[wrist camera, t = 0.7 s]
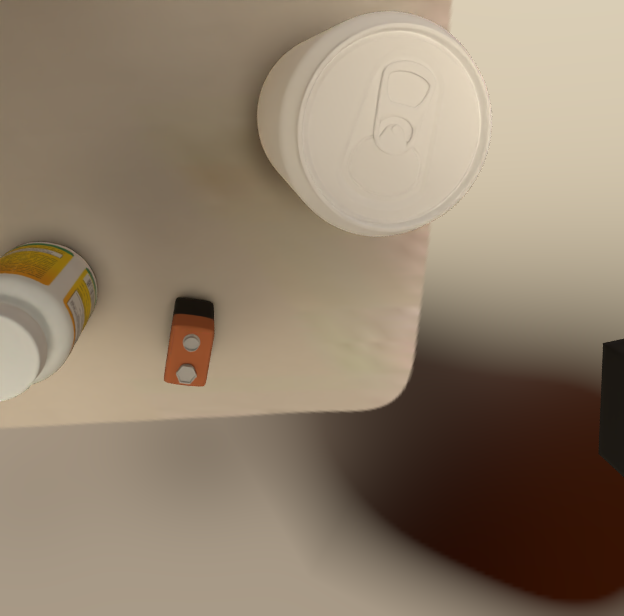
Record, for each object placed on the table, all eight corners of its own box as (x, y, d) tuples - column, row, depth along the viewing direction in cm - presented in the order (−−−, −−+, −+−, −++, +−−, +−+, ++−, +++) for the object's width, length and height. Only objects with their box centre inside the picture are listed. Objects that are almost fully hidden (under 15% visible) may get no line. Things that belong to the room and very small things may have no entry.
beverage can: (242, 176, 32) (261, 222, 21) (273, 17, 30) (313, -27, 19) (380, 206, 34) (465, 263, 23) (420, 59, 32) (536, 42, 20)
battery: (168, 348, 35) (162, 388, 30) (176, 295, 34) (171, 327, 29) (205, 353, 35) (204, 392, 31) (214, 300, 34) (215, 333, 30)
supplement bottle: (119, 292, 33) (87, 365, 24) (47, 349, 34) (-9, 442, 25) (47, 218, 31) (-17, 268, 22) (-28, 280, 32) (-120, 354, 23)
